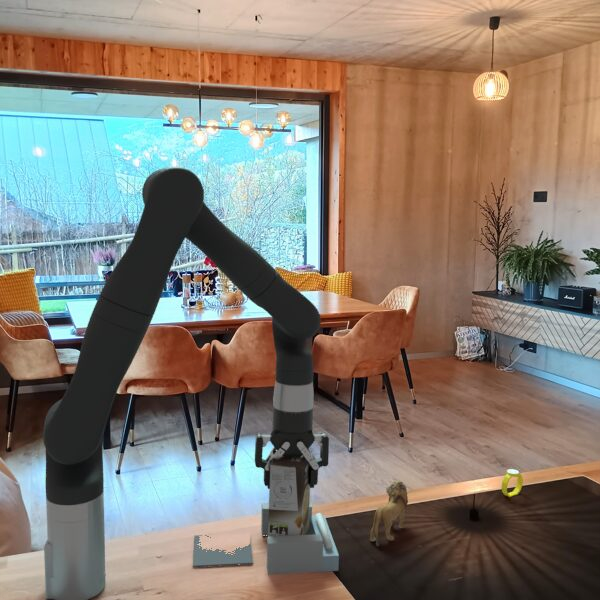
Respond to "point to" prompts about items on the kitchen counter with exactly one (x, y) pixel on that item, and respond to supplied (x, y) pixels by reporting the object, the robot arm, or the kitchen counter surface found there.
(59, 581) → the robot arm
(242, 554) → the mat
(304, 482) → the coffee box
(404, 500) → the lion figurine
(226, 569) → the kitchen counter surface
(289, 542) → the vise
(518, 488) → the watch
